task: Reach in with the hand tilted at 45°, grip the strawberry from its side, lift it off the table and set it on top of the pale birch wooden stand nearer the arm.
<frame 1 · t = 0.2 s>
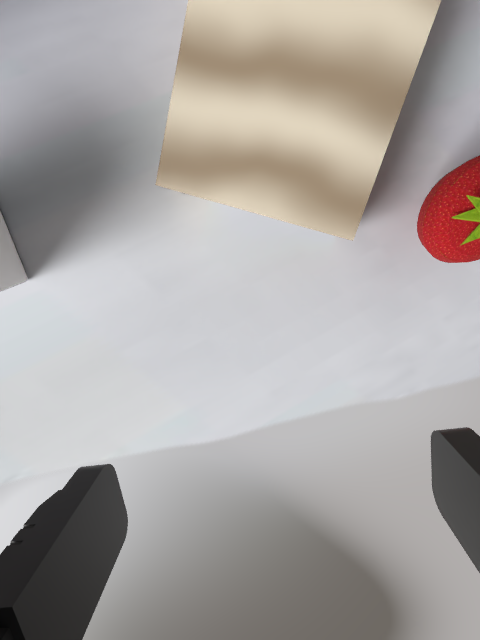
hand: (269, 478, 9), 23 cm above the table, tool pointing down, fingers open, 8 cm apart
birch stand: (287, 87, 26), on the table
strawberry: (430, 208, 29), on the table
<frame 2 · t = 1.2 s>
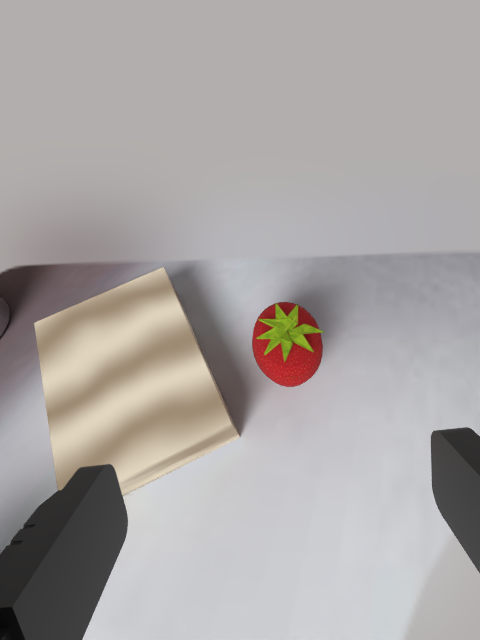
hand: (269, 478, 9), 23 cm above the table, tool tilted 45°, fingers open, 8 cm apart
birch stand: (141, 386, 35), on the table
strawberry: (287, 368, 34), on the table
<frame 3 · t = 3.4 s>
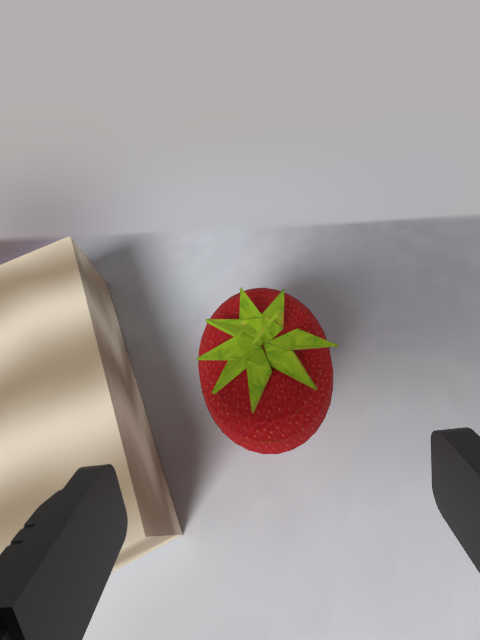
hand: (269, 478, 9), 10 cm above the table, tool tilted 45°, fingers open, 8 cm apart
birch stand: (29, 432, 21), on the table
strawberry: (272, 403, 20), on the table
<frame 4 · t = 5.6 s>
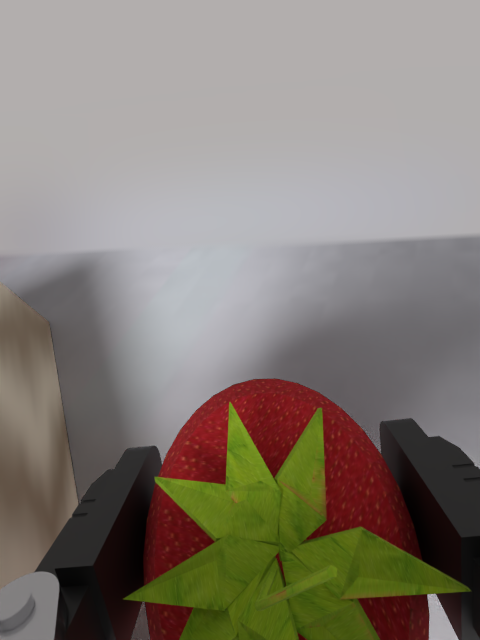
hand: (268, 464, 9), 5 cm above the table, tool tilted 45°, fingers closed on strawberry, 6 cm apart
strawberry: (284, 536, 13), on the table, touching gripper
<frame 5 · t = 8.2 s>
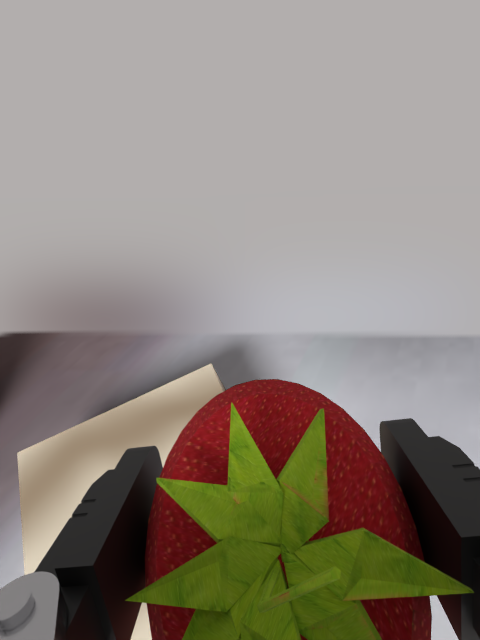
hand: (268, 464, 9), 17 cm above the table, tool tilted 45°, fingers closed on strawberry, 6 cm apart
birch stand: (178, 549, 23), on the table
strawberry: (285, 536, 13), point 12 cm above the table, touching gripper
when the fingers open (11 cm above the table, at t = 10.8 s): strawberry drops 1 cm, resting on birch stand.
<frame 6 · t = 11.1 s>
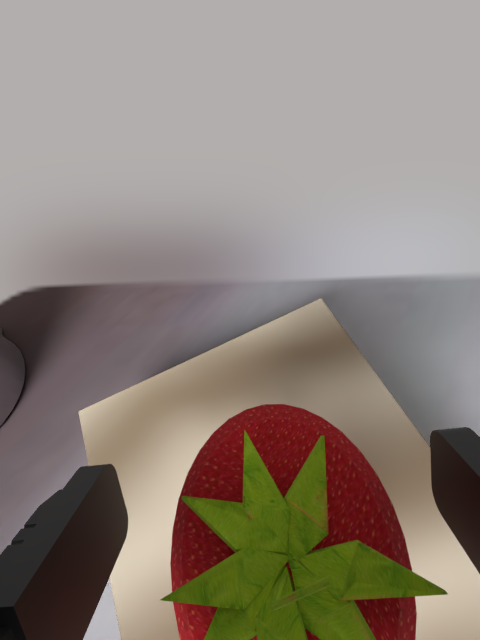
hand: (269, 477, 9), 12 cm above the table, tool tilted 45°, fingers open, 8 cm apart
birch stand: (287, 533, 18), on the table
strawberry: (290, 541, 14), point 5 cm above the table, touching birch stand
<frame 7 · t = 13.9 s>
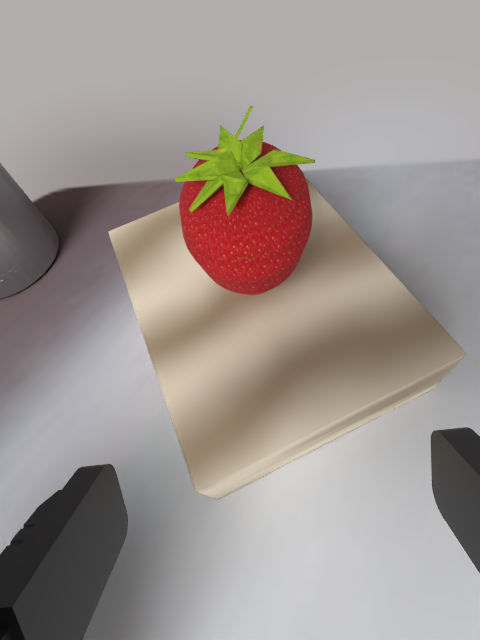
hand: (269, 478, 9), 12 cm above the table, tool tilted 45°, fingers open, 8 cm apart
birch stand: (260, 323, 25), on the table
strawberry: (257, 285, 20), point 5 cm above the table, touching birch stand
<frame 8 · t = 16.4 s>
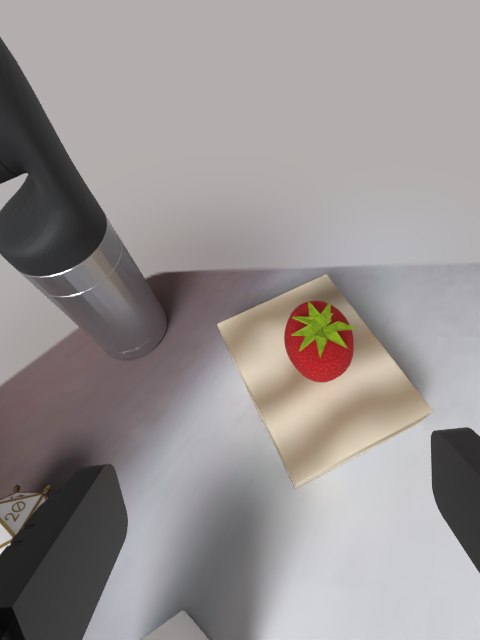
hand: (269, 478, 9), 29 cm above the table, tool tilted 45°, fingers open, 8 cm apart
game die: (44, 534, 36), on the table
birch stand: (311, 380, 40), on the table
strawberry: (315, 365, 35), point 5 cm above the table, touching birch stand
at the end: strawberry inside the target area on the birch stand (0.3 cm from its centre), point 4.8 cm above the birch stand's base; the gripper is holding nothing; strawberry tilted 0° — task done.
